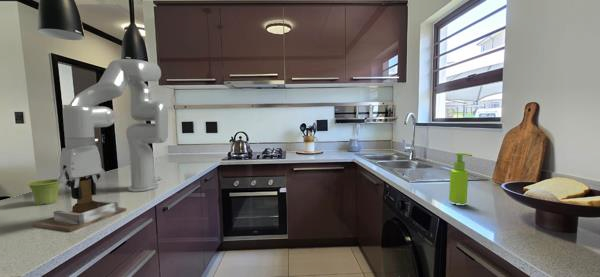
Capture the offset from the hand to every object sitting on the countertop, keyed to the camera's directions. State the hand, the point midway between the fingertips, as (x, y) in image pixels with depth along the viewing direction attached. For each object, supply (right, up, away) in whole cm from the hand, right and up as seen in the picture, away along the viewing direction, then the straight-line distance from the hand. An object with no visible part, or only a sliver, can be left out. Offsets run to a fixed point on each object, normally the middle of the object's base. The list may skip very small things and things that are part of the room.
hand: (84, 196), depth 85 cm
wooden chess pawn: (0, -5, 0) cm, 5 cm away
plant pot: (-30, -7, +17) cm, 35 cm away
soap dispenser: (+136, -6, +14) cm, 137 cm away
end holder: (-1, -8, +1) cm, 8 cm away
